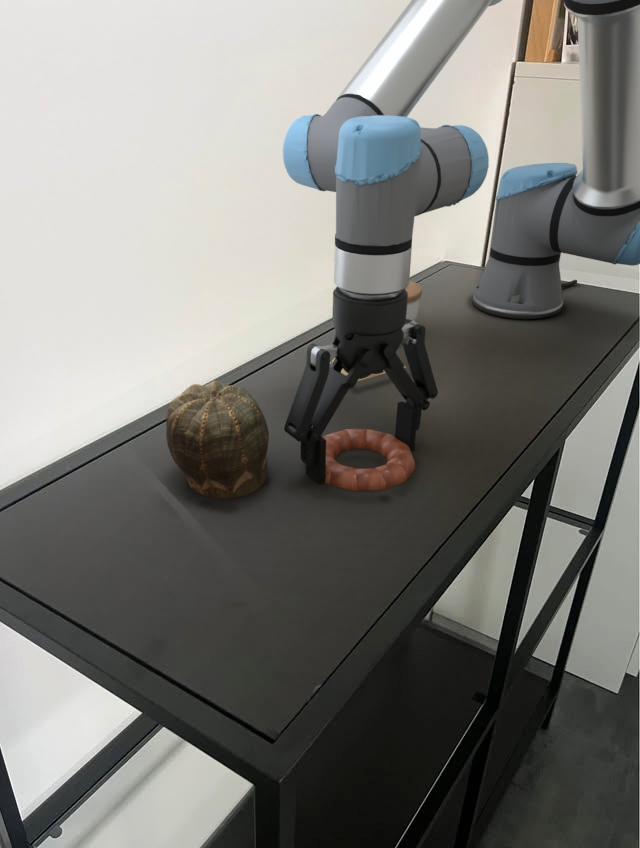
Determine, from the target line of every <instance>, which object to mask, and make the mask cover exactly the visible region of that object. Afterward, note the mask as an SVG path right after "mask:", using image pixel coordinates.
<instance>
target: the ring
mask: <svg viewBox="0 0 640 848" xmlns="http://www.w3.org/2000/svg"><path fill="white" fill-rule="evenodd" d="M322 437H323V438H324V439H326V471H325V483H324V484H327V485H330V486H334V487H336V488H340V489H345V490H348V491H351V492H353V491H354V492H360V491H361V492H362V491H363V492H364V491H365V492H366V491H383V490H388V489H389V488H392V487H394V486H397V485H400V484H403V483H405V482H406V481H407V480H408V479H409V477H410V476H411V475H412V474H413V472H414V471H415V469H416V461H415V459H414V455H413V452H411V450H410V448H409V446H408V445H407V444H405V443H404V442H402V441H400V440H399V439H397V438H396V437H395V435H393V434H391V433H388V432H383V431H379V430H375V429H371V428H345V429H341V430H338V431H335V432H332V433H329V434H325V435H323V436H322ZM360 449H361V450H362V449H363V450H364V449H365V450H369V451H373V452H377V453H378V454H380V455H381V456H383V457H384V458H385V459H386V463H384V464H382V465H380V466H377V467H371V468H369V467H367V468H355V467H351V466H348V465H344V464H341V463H340V462H338V461H337V460H336V458H337V457H338V455H339V454H340V453H343V452H347V451H349V450H360Z"/></svg>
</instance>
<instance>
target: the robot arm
mask: <svg viewBox="0 0 640 848" xmlns="http://www.w3.org/2000/svg"><path fill="white" fill-rule="evenodd" d="M502 1H503V0H410V2H409V3H408V5H406V7H405V8H404V9H403V11H402V12H401V14H400V15H399V16H398V17H397V19H396V20H395V21H394V23H393V24H392V26H391V27H390V28H389V30H388V31H387V32H386V33H385V35H384V36H383V37H382V38H381V40H380V41H379V42H378V44H377V45H376V47H375V48H373V50H372V52H371V53H370V54H369V55H368V57H367V59H366V60H365V61H364V62H363V64H362V65H361V66H360V67H359V69H358V70H357V71H356V73H355V74H354V76H352V78H351V79H350V81H349V82H348V83H347V84H346V85H345V87H344V88H343V90H342V91H341V93H340V94H339V95H338V96H337V98H336V99H335V101H334V102H333V103H332V104H331V105H330V107H329V108H328V110H327V111H326V112H325V113H324V114H323V115H321V114H319V113H314V114H307V115H302V116H300V117H298V118H296V119H294V121H293V122H292V123H291V124H290V126H289V127H288V129H287V131H286V134H285V137H284V140H283V146H282V161H283V165H284V167H285V170H286V172H287V174H288V177H289V178H290V179H291V180H293V182H295V183H296V184H297V185H300V186H305V187H307V188H311V189H314V190H317V191H320V192H332V193H335V234H334V254H333V256H334V257H333V258H334V259H333V283H334V285H335V286H336V287H335V288H334V289H333V291H332V316H331V317H332V325H333V327H334V337H333V340H332V342H331V343H330V344H326V345H321V346H320V345H317V344H316V343H310V344H308V346H307V348H306V359H305V360H306V361H305V362H306V363H305V367H304V371H303V373H302V376H301V379H300V382H299V385H298V387H297V390H296V392H295V396H294V399H293V402H292V404H291V407H290V410H289V412H288V415H287V418H286V422H285V423H284V427H283V430H284V432H285V433H286V434H288V435H289V436H290V437H291V438H293V439H294V440H296V441H297V442H299V443H300V460H301V462H302V463H303V464H305V474H306V475H307V476H308V477H309V478H311V480H313V481H314V482H316V483H317V485H319V486H320V485H324V484H326V483H325V471H326V439H324V438H323V436H322V435H323V434H324V432H325V430H326V429H327V427H328V425H329V423H330V422H331V420H332V418H333V417H334V416H335V413H336V412H337V410H338V409H339V406H340V405H341V403H342V402H343V400H344V398H345V396H346V395H347V393H348V391H349V390H350V389H353V388H354V387H355V386H356V384H357V382H359V381H358V379H362V378H366V377H368V376H369V375H371V374H379V373H383V370H384V371H385V372H386V373H385V374H386V375H387V377H388V378H389V379H390V382H391V383H392V384H393V385H394V387H395V388H396V390H397V391H398V392H399V394H400V395H401V397H402V398H403V399H404V400H405V401H403V400H402V401H399V402H397V407H396V417H395V419H396V420H395V431H394V437H396V438H397V439H399V440H400V441H402V442H404V443H405V444H407V445H408V446H409V448H410V450H411V452H412V453H413V452H415V446H416V435H417V431H418V430H419V429H420V426H421V417H422V411H427V410H428V409H429V408H430V406H431V403H430V401H429V399H432V400H434V399H435V398H437V396H438V394H439V391H438V387H437V383H436V380H435V376H434V372H433V369H432V365H431V362H430V359H429V354H428V352H427V351H428V350H427V347H426V327H425V326H424V325H422V324H421V323H418V322H416V321H415V322H414V321H412V320H410V319H406V313H407V301H408V293H407V291H406V290H405V288H406V287H407V286H408V285H409V280H411V279H410V277H411V276H410V275H411V263H412V251H413V249H412V248H413V232H414V225H415V224H414V223H415V217H418V216H420V215H423V214H425V213H430V212H432V211H435V210H439V209H442V208H445V207H447V208H449V207H451V206H456V205H457V204H459V203H460V202H462V201H463V200H465V199H468V198H469V197H471V196H473V195H474V194H475V193H476V192H478V191H479V189H480V188H481V187H482V185H483V183H484V182H485V180H486V178H487V175H488V171H489V166H490V165H489V164H490V163H489V161H490V159H489V152H488V147H487V145H486V142H485V141H484V139H483V138H482V136H481V135H480V133H478V132H477V131H476V130H475V129H473V128H471V127H470V126H467V125H463V124H458V125H457V124H456V125H451V124H443V125H441V126H439V127H421V125H420V123H419V122H418V121H417V120H416V119H414V118H411V117H408V116H409V115H410V113H411V112H413V109H414V108H415V106H416V105H417V104H418V102H420V100H421V99H422V98H423V96H424V94H425V93H426V92H427V90H429V88H430V86H431V85H432V84H433V82H434V81H435V80H436V78H437V77H438V75H440V73H441V71H442V70H443V69H444V67H445V66H446V65H447V63H448V62H449V61H450V59H451V58H452V57H453V55H454V54H455V52H456V51H457V50H458V48H459V47H460V46H461V44H462V43H463V42H464V40H465V39H466V37H467V36H468V35H469V33H471V30H473V28H474V27H475V25H476V24H477V23H478V21H479V20H480V19H481V17H482V16H483V14H484V13H485V12H486V10H487V9H488V7H492V6H496V5H497V4H500V3H501V2H502ZM563 5H564V8H565V9H566V10H567V11H568V12H569V13H570V14H571V15H573V16H575V17H577V37H578V38H577V39H578V41H577V42H578V68H579V70H578V71H579V97H580V126H581V129H580V130H581V158H582V160H581V161H582V170H580V172H578V168H577V166H576V164H574V163H568V162H545V163H533V164H526V165H525V164H524V165H519V166H515V167H512V168H509V169H507V170H506V171H504V172H503V174H502V175H501V177H500V180H499V184H498V187H497V193H496V196H495V208H494V215H493V223H492V232H491V238H490V239H491V240H490V248H489V255H488V258H487V262H486V264H485V265H484V268H483V270H482V272H481V275H480V276H479V280H478V281H477V283H476V285H475V287H474V290H473V293H472V304H473V305H474V306H475V307H476V308H477V309H478V310H479V311H482V312H484V313H486V314H490V315H493V316H497V317H502V318H505V319H506V318H507V319H513V320H538V319H539V320H540V319H545V318H550V317H553V316H555V315H558V314H559V313H560V312H562V310H563V305H564V292H563V290H562V288H568V287H571V286H573V285H577V284H578V280H577V279H573V280H571V281H567V282H563V283H562V278H561V270H560V261H561V260H560V259H561V256H562V255H561V254H566V255H571V256H574V257H575V256H576V257H580V258H585V259H590V260H594V261H598V262H604V263H608V264H612V265H623V266H631V267H632V266H633V267H634V266H639V265H640V0H563ZM401 345H402V347H403V351H404V354H405V358H406V360H407V364H408V367H409V369H410V371H409V372H410V374H411V376H410V375H409V373H408V372H407V369H405V368H404V366H405V364H404V363H403V361H402V360H401V358H400V356H399V355H398V354H397V351H398V349H399V347H400V346H401ZM334 357H335V360H334V361H333V362H332V360H333V359H334ZM329 367H330V368H329ZM342 369H344V370H345V371H346V372H347V373H348V375H347V376H346V375H345V374H343V373H341V370H342ZM411 377H412V378H411Z"/></svg>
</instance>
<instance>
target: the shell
mask: <svg viewBox="0 0 640 848" xmlns="http://www.w3.org/2000/svg"><path fill="white" fill-rule="evenodd" d="M165 418H166V419H165V420H166V422H165V423H166V424H165V425H166V428H165V429H166V430H165V438H166V439H165V440H166V444H167V448H168V450H169V454H170V456H171V458H172V460H173V461H174V463H175V465H176V466H177V467H178V468H179V469H180V470H181V472H182V473H183V474H184V475H185V477H186V481H187V483H188V485H189V487H190V489H191V490H193V491H195V492H196V493H198V494H199V495H203V496H206V497H209V498H213V499H233V498H238V497H244V496H247V495H249V494H251V493H254V492H255V491H258V490H259V489H260V488H262V486H263V485H264V484H265V482H266V481H267V478H268V470H267V469H268V450H269V440H270V439H269V437H270V436H269V435H270V433H269V427H268V424H267V421H266V417H265V415H264V413H263V411H262V410H261V407H260V406H259V404H258V401H256V399H255V397H254V396H253V395H252V394H251V393H250V392H249V390H248V389H246V388H244V387H242V386H239V385H232V384H231V385H229V384H227V383H224V382H221V381H218V380H213V381H211V382H209V383H207V384H205V385H201V384H199V383H193V384H191V385H190V386H188V387H187V388H186V389H185V390H184V391H182V392H181V394H180V395H178V396H176V397H175V398H174V399H173V400H171V402H170V403H169V406H168V408H167V412H166V417H165Z"/></svg>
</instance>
